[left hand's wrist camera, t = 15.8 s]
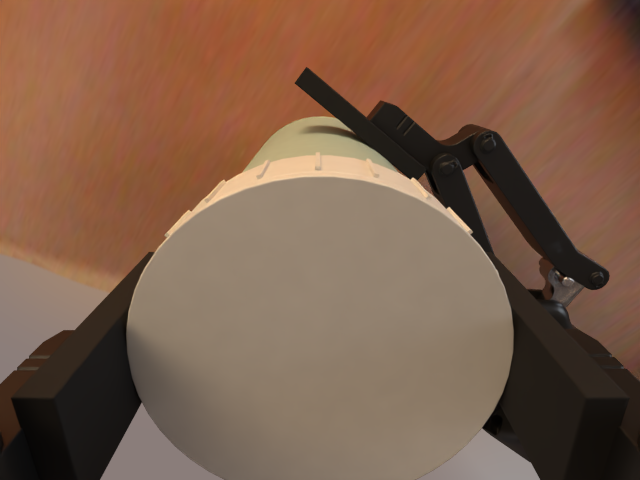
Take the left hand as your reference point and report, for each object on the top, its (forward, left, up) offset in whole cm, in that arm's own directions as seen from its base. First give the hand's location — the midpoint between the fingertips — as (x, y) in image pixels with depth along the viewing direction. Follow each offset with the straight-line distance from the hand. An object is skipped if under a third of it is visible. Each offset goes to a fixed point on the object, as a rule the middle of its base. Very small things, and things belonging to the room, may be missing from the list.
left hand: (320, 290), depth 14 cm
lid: (0, 0, +3) cm, 3 cm away
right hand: (+2, -4, -7) cm, 8 cm away
